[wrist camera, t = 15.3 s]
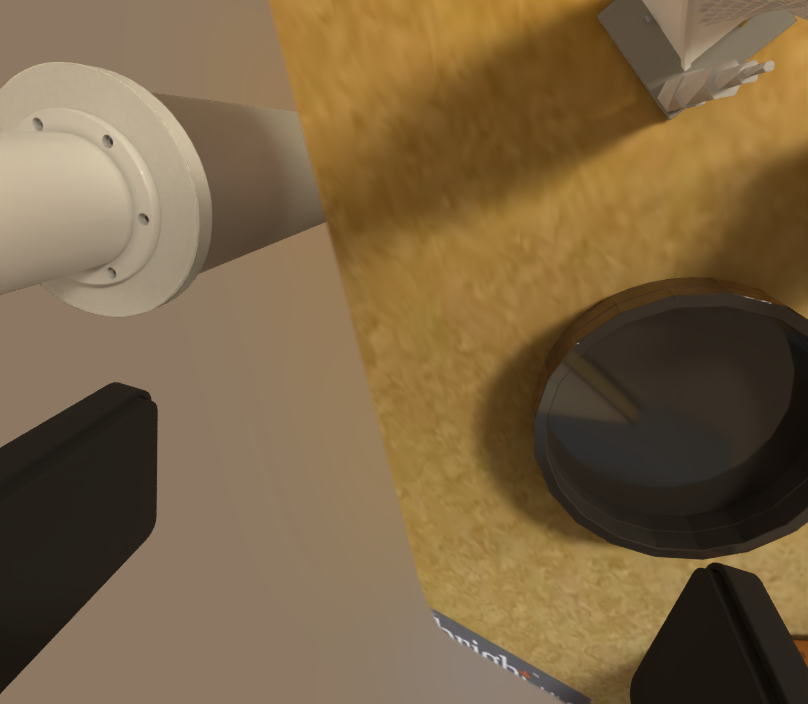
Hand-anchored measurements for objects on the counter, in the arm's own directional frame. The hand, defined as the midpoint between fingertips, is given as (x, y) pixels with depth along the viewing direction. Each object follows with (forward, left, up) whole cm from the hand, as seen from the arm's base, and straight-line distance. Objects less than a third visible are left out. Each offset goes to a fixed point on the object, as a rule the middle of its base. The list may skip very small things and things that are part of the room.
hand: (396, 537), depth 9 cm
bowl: (+15, -8, -28) cm, 33 cm away
